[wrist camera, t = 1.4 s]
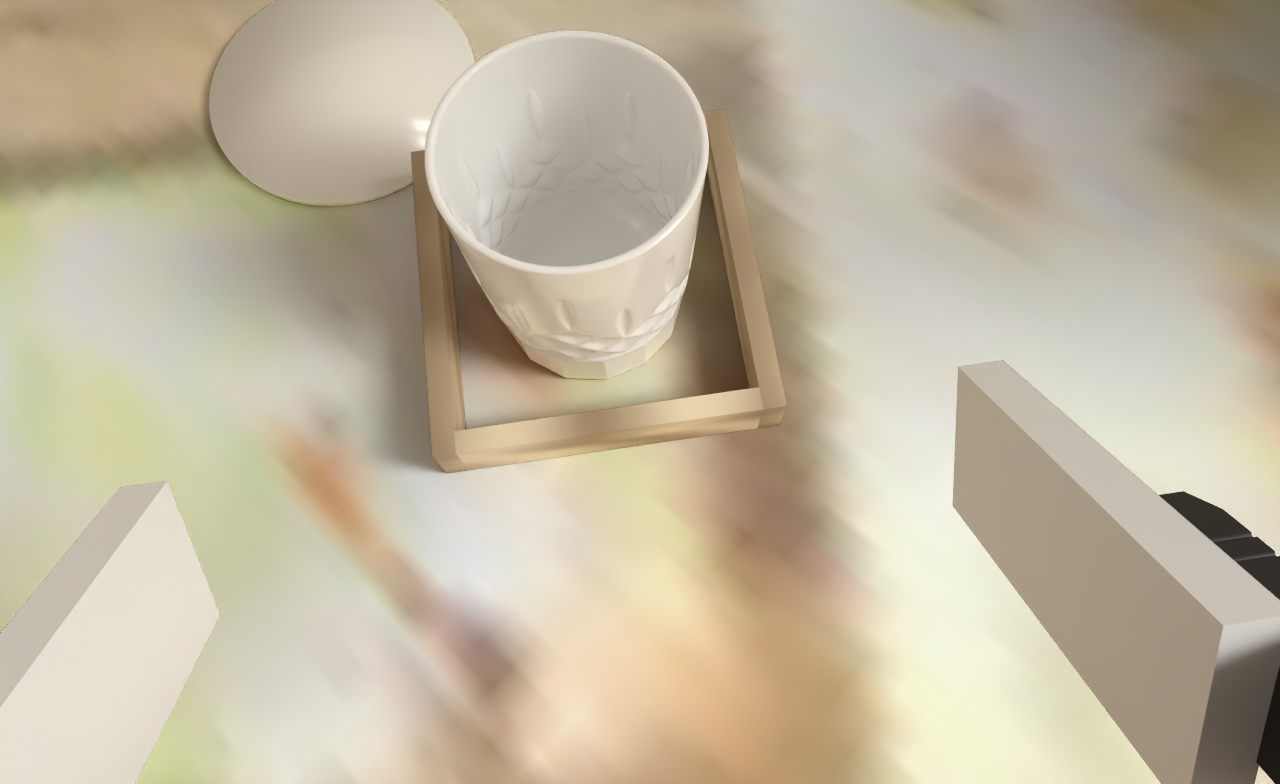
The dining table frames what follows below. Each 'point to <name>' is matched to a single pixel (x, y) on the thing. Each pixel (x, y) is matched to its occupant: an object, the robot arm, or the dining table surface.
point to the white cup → (573, 194)
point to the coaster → (334, 95)
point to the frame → (606, 426)
